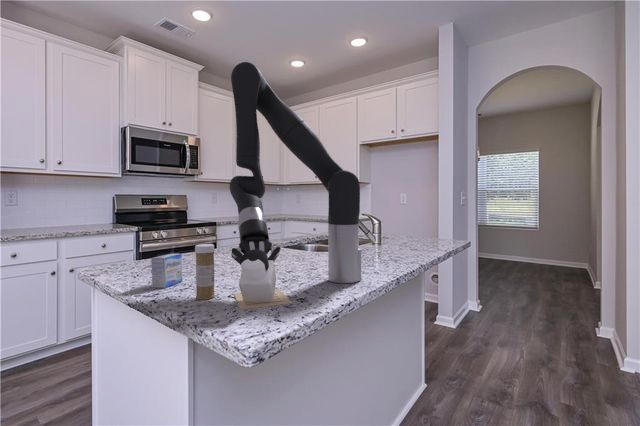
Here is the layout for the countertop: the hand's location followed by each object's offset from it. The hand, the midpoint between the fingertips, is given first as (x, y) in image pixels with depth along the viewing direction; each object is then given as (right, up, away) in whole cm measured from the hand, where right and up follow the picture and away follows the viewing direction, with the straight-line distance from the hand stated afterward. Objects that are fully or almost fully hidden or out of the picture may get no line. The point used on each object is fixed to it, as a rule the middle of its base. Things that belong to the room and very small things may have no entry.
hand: (260, 281), depth 78 cm
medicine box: (-30, -5, +17) cm, 35 cm away
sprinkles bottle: (-15, -5, +4) cm, 16 cm away
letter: (0, -5, +3) cm, 6 cm away
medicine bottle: (0, -3, +2) cm, 4 cm away
